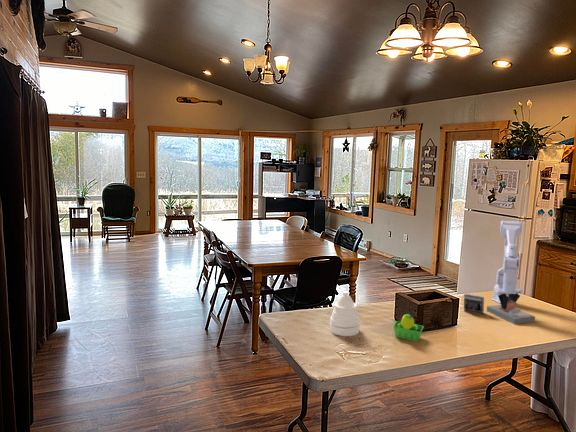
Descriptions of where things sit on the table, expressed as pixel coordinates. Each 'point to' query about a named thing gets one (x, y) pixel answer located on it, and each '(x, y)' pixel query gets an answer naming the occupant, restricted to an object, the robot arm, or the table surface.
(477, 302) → the electrical switch
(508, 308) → the plug
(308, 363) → the table surface
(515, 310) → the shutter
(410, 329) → the fruit basket
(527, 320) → the socket plate
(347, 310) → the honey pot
